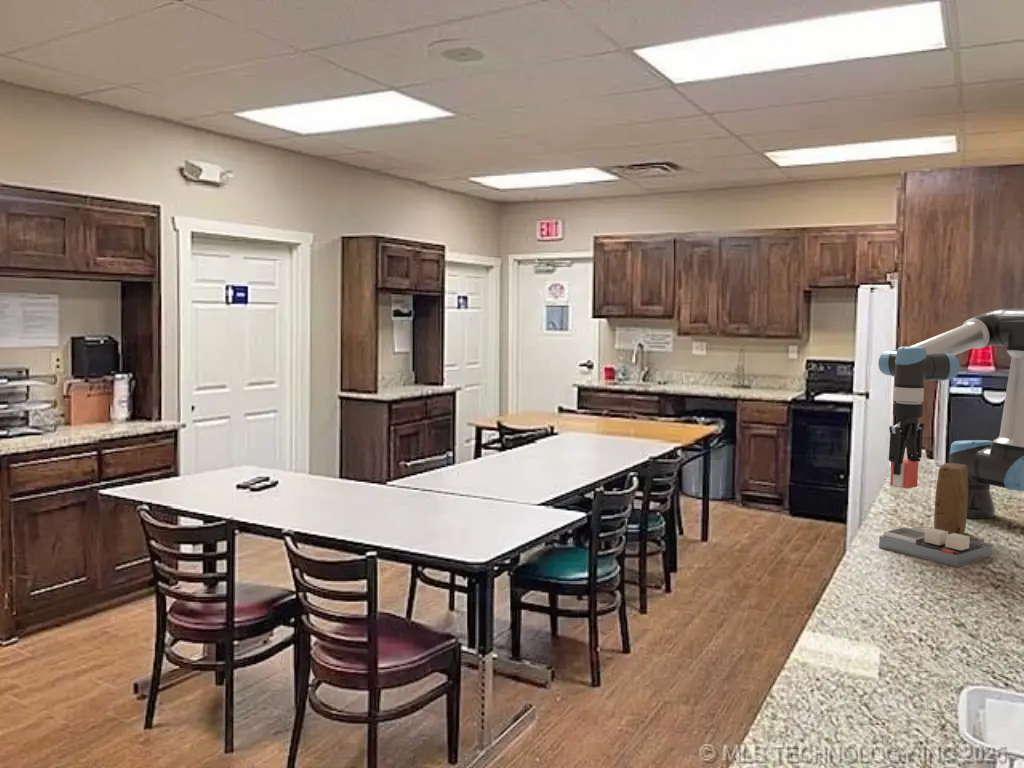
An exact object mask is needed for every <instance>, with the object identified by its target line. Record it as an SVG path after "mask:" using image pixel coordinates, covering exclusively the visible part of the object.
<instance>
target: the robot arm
mask: <svg viewBox="0 0 1024 768" xmlns="http://www.w3.org/2000/svg"><path fill="white" fill-rule="evenodd" d="M990 346H991V347H992V346H994V347H995V346H996V347H997V346H1001V347H1006V353H1007V354H1008V355H1009V356H1010V358H1011V359H1010V366H1009V372H1008V379H1007V386H1006V390H1005V399H1004V403H1003V411H1002V416H1001V422H1000V423H1001V424H1000V430H999V436H998V437H997V438H995V439H993V440H986V439H983V440H980V439H973V440H971V439H969V440H965V439H964V440H963V439H962V440H955V441H953V442H952V443H951V444H950V448H949V449H950V450H949V454H948V455H949V456H948V457H949V459H948V463H956V464H964V465H966V466H967V467H968V507H967V518H970V519H990V518H993V517H995V516H996V508H995V507H996V506H995V504H994V501H993V498H992V495H991V494H992V493H991V491H990V490H991V486H994V487H997V488H1003V489H1007V490H1009V491H1018V492H1024V307H1016V308H1015V307H1003V308H998V309H993V310H990V311H987V312H983V313H981V314H979V315H976V316H974V317H971V318H969V319H967V320H965V321H964V322H963V323H962V325H960V326H957V327H955V328H953V329H949V330H948V331H945V332H943V333H940V334H938V335H935V336H933V337H930V338H927V339H925V340H923V341H920V342H917V343H916V344H915V343H914V344H913V345H910V346H899V347H898V348H897V349H896V350H895V349H892V350H891V349H890V350H885V351H883V352H882V353H881V354H880V356H879V358H878V369H879V371H880V372H881V373H882V374H884V375H887V376H890V377H894V389H893V400H894V401H895V402H894V403H893V404H892V406H893V407H892V415H893V416H894V417H896V421H895V425H890V426H889V429H888V430H889V447H888V448H889V449H888V461H889V462H890V463H891V462H893V463H894V468H893V486H892V487H896V486H898V487H897V488H901V487H903V483H904V465H905V464H903V459H904V457H905V452H906V457H907V458H906V460H910V461H916V462H918V463H919V462H920V461H921V458H922V452H923V451H922V450H923V432H924V428H925V424H924V423H920V422H919V419H920V418H922V417H923V416H924V412H923V411H924V405H923V402H924V397H925V393H924V392H925V382H926V381H947V380H952V379H954V378H955V377H957V376H958V374H959V372H960V366H961V365H960V362H959V359H958V357H956V356H957V355H959V354H962V353H964V352H966V351H969V350H971V349H976V350H977V349H978V350H980V349H983V348H985V347H990Z"/></svg>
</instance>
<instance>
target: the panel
mask: <svg viewBox="0 0 1024 768" xmlns="http://www.w3.org/2000/svg"><path fill="white" fill-rule="evenodd" d="M925 530H926V529H923V528H920V527H911V528H907V527H904V526H901V527H896V528H893V529H887V530H884V531H883V535H880V536H879V540H878V547H879V548H881V549H884V550H889V551H892V552H897V553H900V554H905V555H908V556H911V557H917V558H919V559H924V560H927V561H930V562H934V561H935V563H938V562H939V563H940V564H943V565H945V566H946V565H947V566H951V567H954V568H959V567H962V566H966V565H970V564H972V563H976V562H979V561H981V560H984V559H988V558H990V557H992V553H993V551H992V550H993V545H992V544H990V543H989V544H988V543H984V542H980V541H975V540H971V539H970V541H969V548H968V549H964V550H956V549H952V548H948V547H945V544H942V545H936V544H932V543H928V542H924V538H925ZM939 563H938V564H939Z"/></svg>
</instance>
